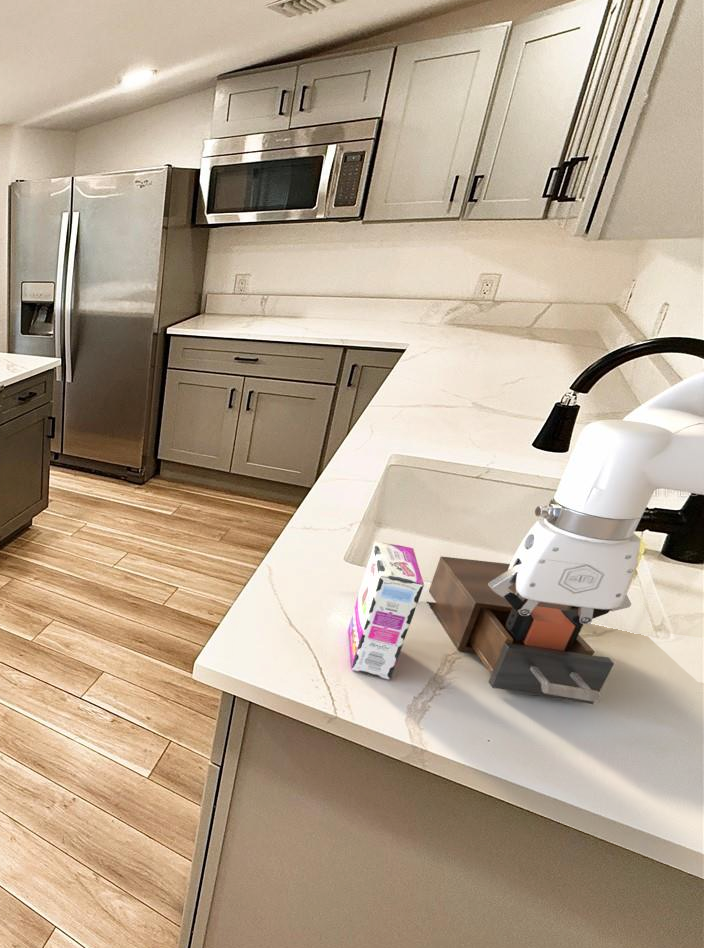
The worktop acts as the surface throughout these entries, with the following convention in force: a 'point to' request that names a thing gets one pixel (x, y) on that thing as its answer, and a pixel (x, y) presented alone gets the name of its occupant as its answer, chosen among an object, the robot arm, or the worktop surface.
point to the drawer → (537, 663)
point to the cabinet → (468, 596)
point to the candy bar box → (384, 609)
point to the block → (549, 629)
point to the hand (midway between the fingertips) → (537, 637)
